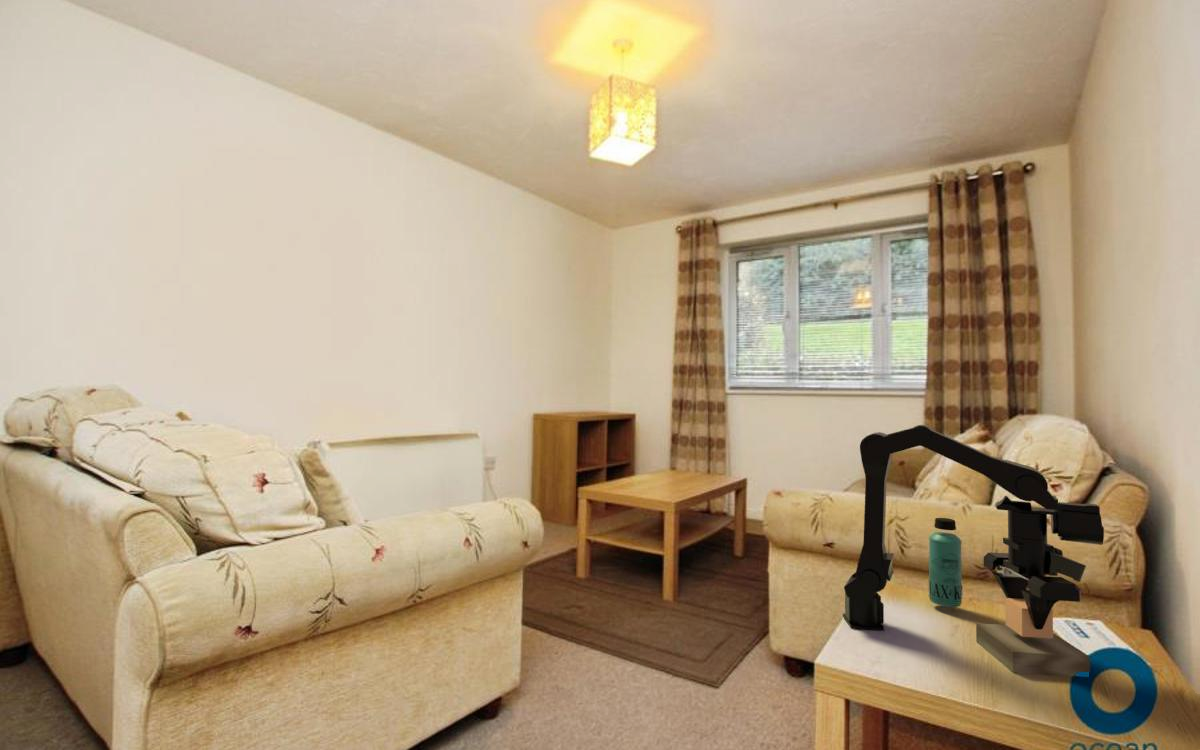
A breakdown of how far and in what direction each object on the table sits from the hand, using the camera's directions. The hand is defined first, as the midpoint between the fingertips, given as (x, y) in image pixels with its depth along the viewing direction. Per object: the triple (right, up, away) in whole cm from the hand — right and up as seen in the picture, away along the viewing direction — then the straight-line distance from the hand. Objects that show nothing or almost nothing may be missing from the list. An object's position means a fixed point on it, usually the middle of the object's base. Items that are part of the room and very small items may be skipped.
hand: (1028, 622), depth 102 cm
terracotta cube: (0, -2, 0) cm, 2 cm away
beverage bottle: (-1, -7, +23) cm, 24 cm away
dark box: (0, -7, 0) cm, 7 cm away
